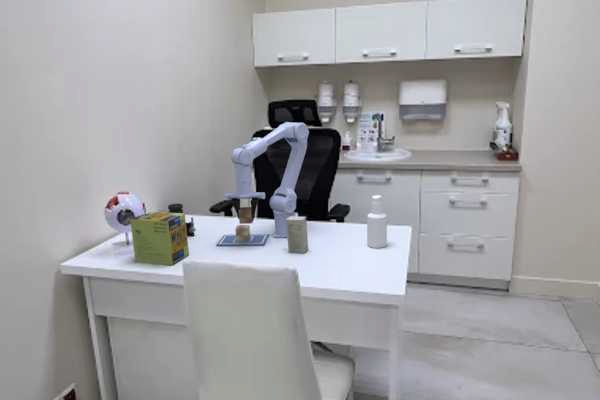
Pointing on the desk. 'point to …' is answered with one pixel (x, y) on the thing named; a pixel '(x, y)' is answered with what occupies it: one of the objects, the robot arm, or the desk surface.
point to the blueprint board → (253, 241)
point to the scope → (178, 209)
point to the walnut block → (245, 215)
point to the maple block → (242, 232)
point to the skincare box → (297, 234)
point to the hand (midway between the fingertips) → (246, 218)
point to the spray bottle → (376, 224)
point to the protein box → (159, 237)
